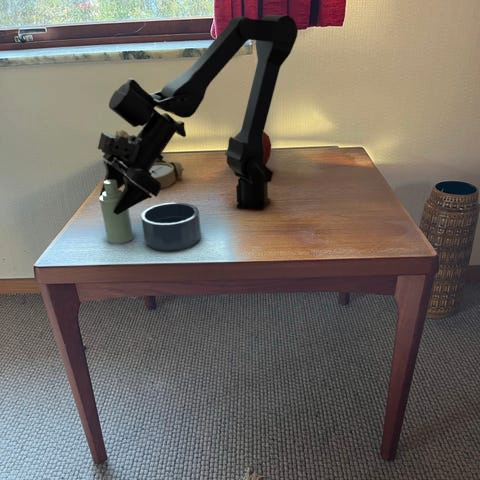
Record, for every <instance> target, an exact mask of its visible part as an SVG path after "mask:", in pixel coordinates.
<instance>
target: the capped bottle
mask: <svg viewBox="0 0 480 480" xmlns="http://www.w3.org/2000/svg"><path fill="white" fill-rule="evenodd" d="M103 183H104V187H105V191H104V192H103V193H102V195H101V196H100V195H99V196H100V197H98V199H99V204H100V209H101V213H102V219H103V224H104V229H105V234H106V239H107V242H109V243H110V244H114V245H119V244H120V245H121V244H125V243H128V242H130V241H132V240H133V239H134V231H133V227H132V220H131V214H130V208H129V209H127V210H125V211H124V212H122V213H120V214H118V215H117V214H115V213H114V212H113V210H114V208H115V206H116V204H117V202H118V200H119V198H120V196H121V194H122V192H123V190H121V189H118V187H117V181H116V180H106V181H104V180H103Z"/></svg>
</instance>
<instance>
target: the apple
mask: <svg viewBox="0 0 480 480" xmlns="http://www.w3.org/2000/svg"><path fill="white" fill-rule="evenodd" d="M239 133H240V131H239V132H238V133H237V134H236V135H235V136H234V137H233V138H236V137H237V135H238V134H239ZM262 139H263V145H264V161H263V164H264V165H265V166H267V164H268V162H269V159H270V157H271V153H272V152H271V151H272V142H271V139H270V136H269V135H268V134H267V133H266V132H265V131H264V132H263V137H262Z"/></svg>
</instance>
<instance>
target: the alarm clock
mask: <svg viewBox="0 0 480 480" xmlns="http://www.w3.org/2000/svg"><path fill="white" fill-rule="evenodd" d="M184 170H185V169H184V167H183V165H182V163H181V162H179V161H178V162H177V161H169V162H168V161H167V160H166V159H164V158H163V159H162V160H161V161H160V160H158V159H157V161H156V162H155V164H154V165H153V167H152V168H151V169H150V171H149V172H150V173H151V174H152V175H151V176H152V177H154V178H155V179H156V180H158V181H159V182H160V183H161V189H164V188H167V187H169V186H171V185H173V184H175V182H176V181H178V180H180V179H181V178H182V176H183V172H184ZM130 181H131V179H130Z"/></svg>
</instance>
